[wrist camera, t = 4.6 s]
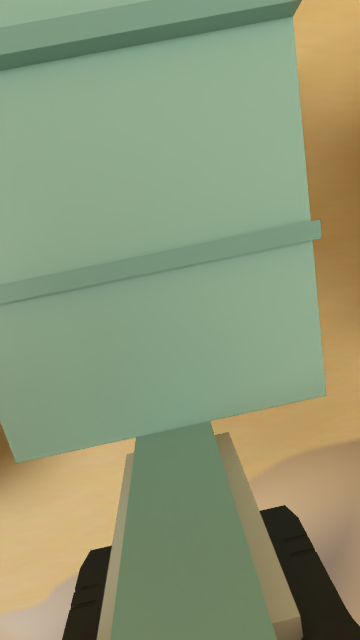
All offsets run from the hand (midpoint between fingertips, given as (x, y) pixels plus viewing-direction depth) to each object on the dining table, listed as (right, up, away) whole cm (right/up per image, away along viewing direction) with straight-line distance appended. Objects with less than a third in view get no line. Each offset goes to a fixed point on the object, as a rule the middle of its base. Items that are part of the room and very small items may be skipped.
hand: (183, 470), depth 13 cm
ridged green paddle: (-2, +10, -2) cm, 10 cm away
